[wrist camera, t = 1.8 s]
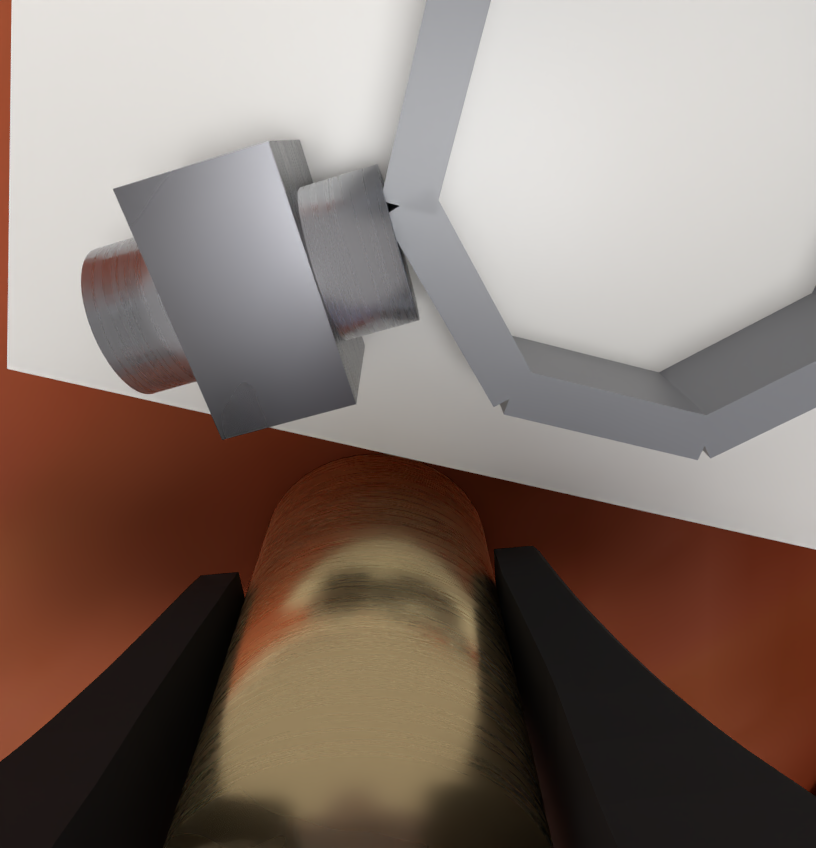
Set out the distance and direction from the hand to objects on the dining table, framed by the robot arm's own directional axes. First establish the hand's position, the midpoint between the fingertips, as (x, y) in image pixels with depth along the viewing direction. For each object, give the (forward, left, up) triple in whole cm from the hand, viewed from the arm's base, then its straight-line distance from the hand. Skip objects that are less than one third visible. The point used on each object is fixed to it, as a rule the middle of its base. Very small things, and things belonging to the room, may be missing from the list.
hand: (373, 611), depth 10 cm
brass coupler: (0, 0, -2) cm, 2 cm away
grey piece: (+3, -5, -2) cm, 6 cm away
